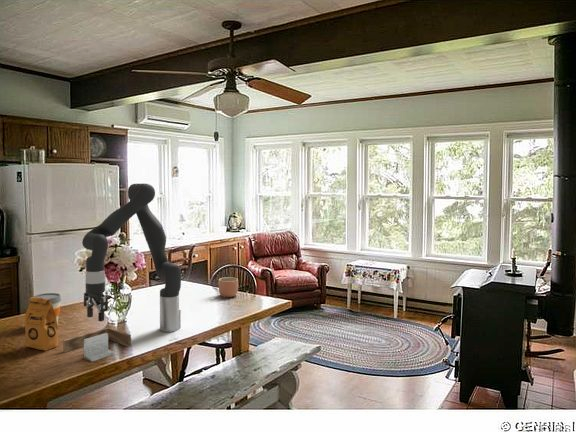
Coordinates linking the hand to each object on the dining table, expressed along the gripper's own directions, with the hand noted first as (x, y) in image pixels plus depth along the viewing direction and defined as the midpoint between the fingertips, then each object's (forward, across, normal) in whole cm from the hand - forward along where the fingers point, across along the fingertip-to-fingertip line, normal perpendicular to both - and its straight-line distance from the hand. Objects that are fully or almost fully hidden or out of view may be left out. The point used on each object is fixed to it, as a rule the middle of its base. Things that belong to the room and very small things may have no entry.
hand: (95, 319), depth 187 cm
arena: (+15, +6, -4) cm, 17 cm away
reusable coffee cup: (+16, +53, -5) cm, 55 cm away
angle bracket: (+16, -2, 0) cm, 16 cm away
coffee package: (+16, +26, +10) cm, 32 cm away
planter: (+15, +23, -104) cm, 108 cm away
